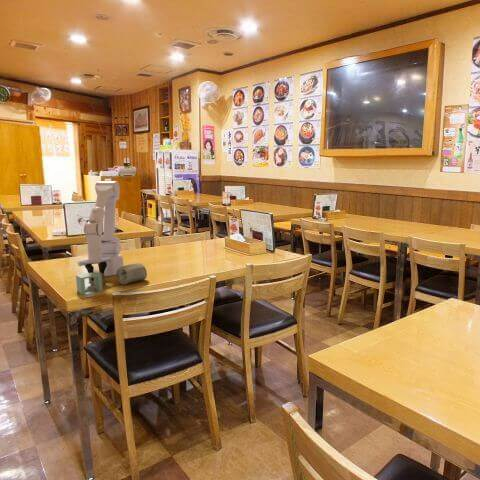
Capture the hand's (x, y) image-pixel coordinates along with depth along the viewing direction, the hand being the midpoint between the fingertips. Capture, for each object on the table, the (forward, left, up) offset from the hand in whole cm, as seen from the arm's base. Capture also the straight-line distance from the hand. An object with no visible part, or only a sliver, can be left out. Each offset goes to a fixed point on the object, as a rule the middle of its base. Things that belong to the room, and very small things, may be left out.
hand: (96, 279), depth 179 cm
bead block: (+6, +10, -1) cm, 12 cm away
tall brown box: (0, 0, -2) cm, 2 cm away
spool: (-13, +9, -2) cm, 15 cm away
